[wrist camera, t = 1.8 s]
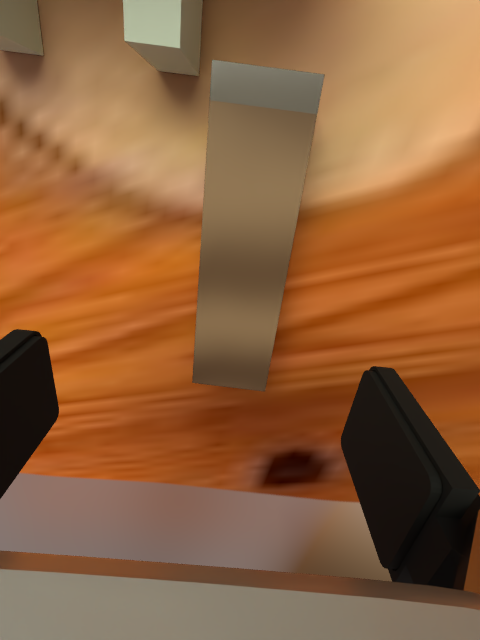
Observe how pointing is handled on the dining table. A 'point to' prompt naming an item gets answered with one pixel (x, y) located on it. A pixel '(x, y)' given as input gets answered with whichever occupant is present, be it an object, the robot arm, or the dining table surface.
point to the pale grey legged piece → (139, 31)
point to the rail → (249, 215)
